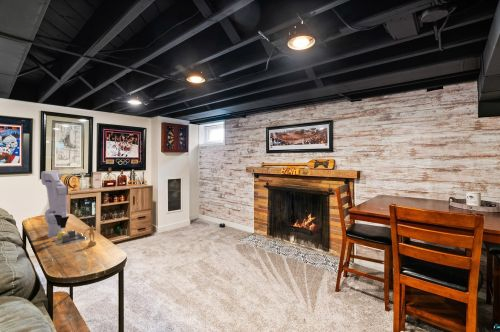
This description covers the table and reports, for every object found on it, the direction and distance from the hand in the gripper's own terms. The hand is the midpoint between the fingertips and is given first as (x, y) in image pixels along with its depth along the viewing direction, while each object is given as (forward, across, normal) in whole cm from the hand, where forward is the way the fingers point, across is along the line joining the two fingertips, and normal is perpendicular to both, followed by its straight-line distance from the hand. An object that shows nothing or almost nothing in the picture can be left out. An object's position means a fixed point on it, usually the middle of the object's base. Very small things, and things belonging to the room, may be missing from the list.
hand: (61, 226), depth 150 cm
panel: (+9, +5, +4) cm, 11 cm away
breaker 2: (+7, 0, +5) cm, 9 cm away
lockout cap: (+8, 0, 0) cm, 8 cm away
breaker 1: (+7, +8, 0) cm, 11 cm away
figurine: (+9, +25, +10) cm, 28 cm away
